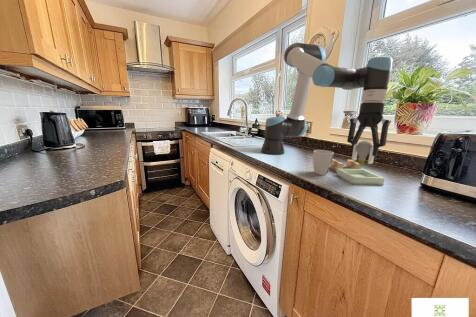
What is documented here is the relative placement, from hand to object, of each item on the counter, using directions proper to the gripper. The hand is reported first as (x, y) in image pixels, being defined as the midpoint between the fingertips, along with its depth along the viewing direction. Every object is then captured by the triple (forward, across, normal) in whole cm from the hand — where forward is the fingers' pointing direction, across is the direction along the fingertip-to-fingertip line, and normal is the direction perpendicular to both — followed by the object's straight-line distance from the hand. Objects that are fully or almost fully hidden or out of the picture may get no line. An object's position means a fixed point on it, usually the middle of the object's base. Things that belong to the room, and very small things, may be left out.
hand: (361, 161), depth 79 cm
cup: (+8, -14, -6) cm, 17 cm away
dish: (+8, 0, 0) cm, 8 cm away
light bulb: (+2, 0, 0) cm, 2 cm away
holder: (+8, -10, +8) cm, 15 cm away
